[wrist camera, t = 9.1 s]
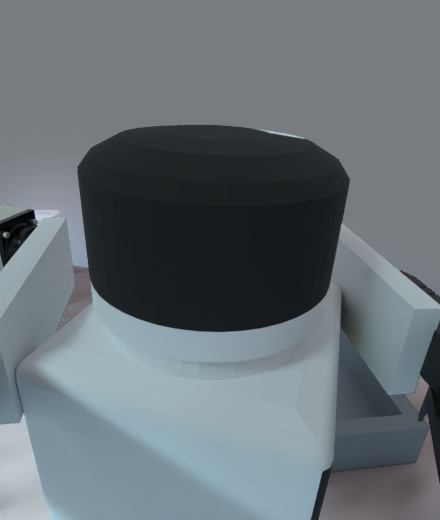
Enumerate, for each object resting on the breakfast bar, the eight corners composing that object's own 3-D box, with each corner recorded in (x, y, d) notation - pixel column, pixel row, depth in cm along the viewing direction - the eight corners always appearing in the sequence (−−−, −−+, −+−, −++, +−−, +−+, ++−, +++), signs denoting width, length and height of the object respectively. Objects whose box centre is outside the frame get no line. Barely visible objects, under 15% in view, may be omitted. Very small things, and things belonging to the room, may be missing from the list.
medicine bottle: (287, 651, 10) (409, 190, 5) (51, 550, 12) (-55, 137, 6) (312, 430, 16) (375, 128, 11) (156, 387, 18) (145, 110, 13)
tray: (92, 499, 24) (86, 461, 22) (121, 306, 43) (119, 279, 42) (415, 462, 27) (429, 427, 26) (307, 299, 47) (311, 273, 45)
